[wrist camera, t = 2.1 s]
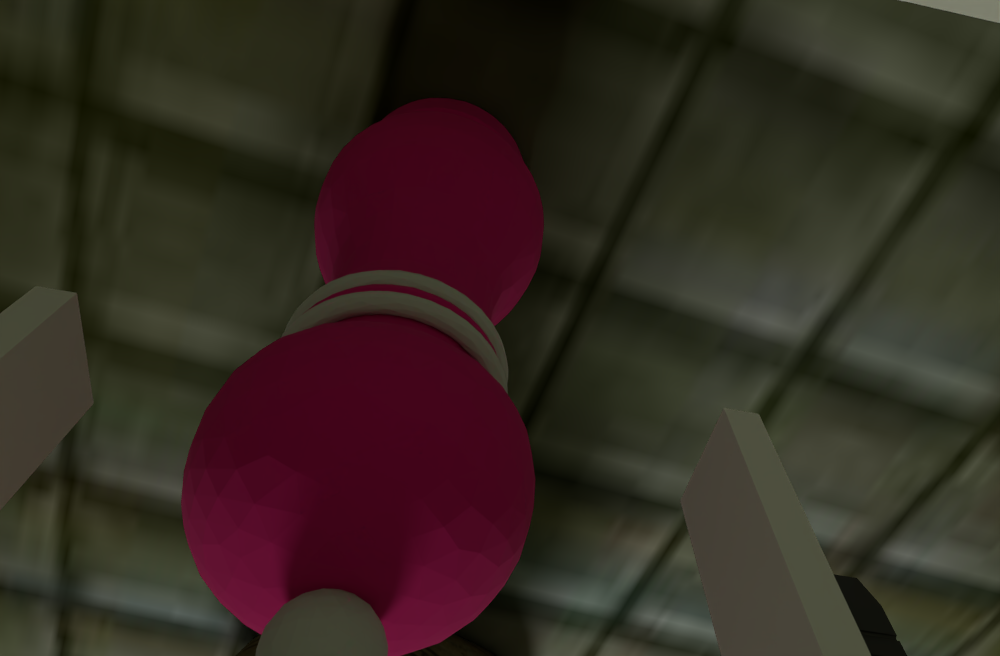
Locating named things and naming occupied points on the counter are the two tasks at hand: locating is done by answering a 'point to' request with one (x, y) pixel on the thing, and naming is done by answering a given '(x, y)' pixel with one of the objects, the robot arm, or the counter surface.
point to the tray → (966, 7)
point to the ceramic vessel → (450, 652)
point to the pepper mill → (381, 405)
